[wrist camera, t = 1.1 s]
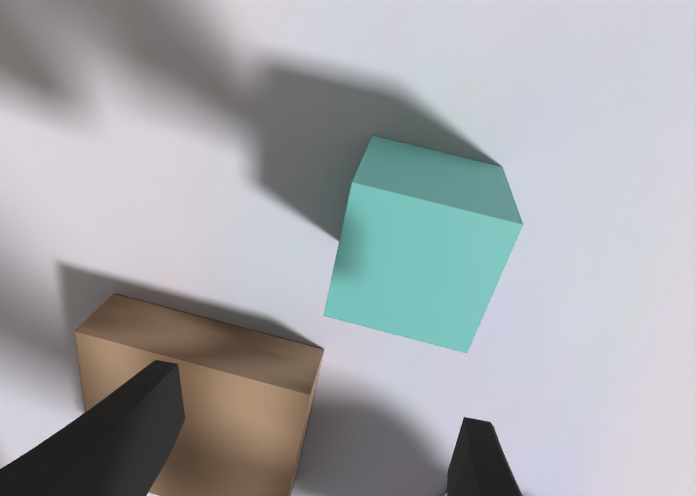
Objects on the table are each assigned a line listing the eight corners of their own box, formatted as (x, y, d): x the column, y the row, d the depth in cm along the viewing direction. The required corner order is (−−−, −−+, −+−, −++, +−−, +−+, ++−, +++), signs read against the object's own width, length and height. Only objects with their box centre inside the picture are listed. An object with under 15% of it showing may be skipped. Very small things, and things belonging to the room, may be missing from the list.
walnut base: (324, 349, 23) (310, 395, 21) (294, 481, 29) (280, 530, 26) (113, 293, 24) (74, 331, 21) (124, 433, 29) (94, 477, 27)
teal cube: (502, 166, 18) (522, 224, 13) (460, 274, 20) (467, 353, 16) (372, 134, 18) (352, 182, 14) (347, 245, 20) (323, 315, 16)
